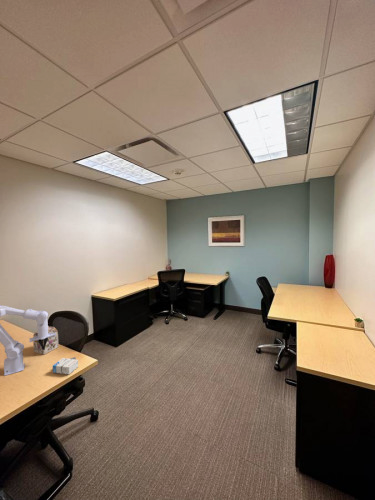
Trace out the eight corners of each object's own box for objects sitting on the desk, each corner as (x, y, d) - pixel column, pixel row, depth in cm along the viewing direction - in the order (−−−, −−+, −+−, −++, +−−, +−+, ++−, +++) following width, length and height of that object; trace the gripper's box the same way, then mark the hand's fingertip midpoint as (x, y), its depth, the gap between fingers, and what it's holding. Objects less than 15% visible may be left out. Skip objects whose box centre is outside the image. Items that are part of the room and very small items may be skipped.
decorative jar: (43, 355, 147) (42, 331, 147) (33, 352, 151) (32, 329, 151) (59, 347, 159) (58, 324, 158) (48, 344, 163) (47, 322, 162)
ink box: (52, 372, 127) (68, 374, 125) (52, 365, 127) (68, 367, 124) (63, 364, 135) (78, 366, 133) (63, 357, 135) (78, 359, 133)
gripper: (28, 334, 128) (29, 355, 129) (55, 329, 136) (56, 348, 137) (29, 330, 134) (30, 350, 135) (55, 325, 142) (56, 344, 143)
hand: (43, 349), depth 136 cm, fingers closed
